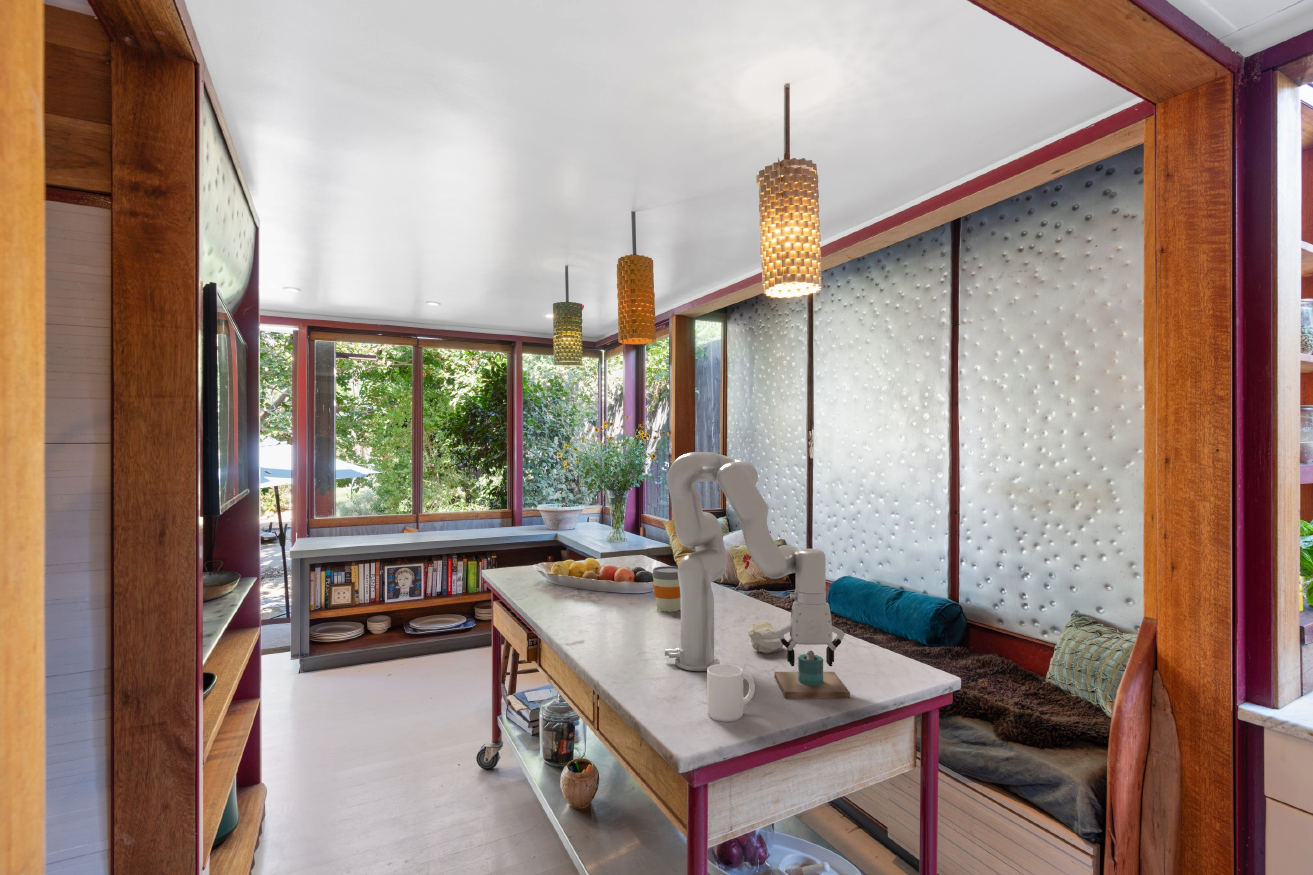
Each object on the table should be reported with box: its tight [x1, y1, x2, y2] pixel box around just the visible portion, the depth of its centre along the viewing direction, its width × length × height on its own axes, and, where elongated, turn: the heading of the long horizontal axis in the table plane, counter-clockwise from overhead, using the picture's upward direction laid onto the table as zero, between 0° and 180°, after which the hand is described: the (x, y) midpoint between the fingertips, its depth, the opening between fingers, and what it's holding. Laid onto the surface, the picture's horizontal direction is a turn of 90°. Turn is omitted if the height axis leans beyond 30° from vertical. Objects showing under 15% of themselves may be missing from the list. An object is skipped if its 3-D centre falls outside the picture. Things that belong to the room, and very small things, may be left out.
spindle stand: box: [773, 650, 851, 699], centre depth 163 cm, size 16×14×9 cm
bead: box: [797, 653, 824, 686], centre depth 163 cm, size 6×6×6 cm
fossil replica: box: [747, 622, 784, 654], centre depth 192 cm, size 12×8×10 cm
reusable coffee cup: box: [651, 565, 681, 613], centre depth 241 cm, size 12×13×15 cm
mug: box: [706, 663, 756, 723], centre depth 147 cm, size 12×8×10 cm
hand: (810, 664), depth 163 cm, fingers open, 9 cm apart
